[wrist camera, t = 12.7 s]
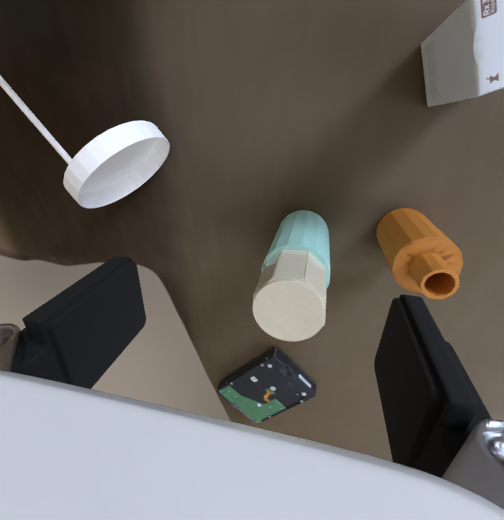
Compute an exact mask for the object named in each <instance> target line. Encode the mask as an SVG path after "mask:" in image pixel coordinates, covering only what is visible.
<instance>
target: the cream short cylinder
mask: <svg viewBox="0 0 504 520" xmlns="http://www.w3.org/2000/svg"><path fill="white" fill-rule="evenodd" d="M253 314H254V318H255V320H256V322H257V323H258V325H259V326H260V327H261V328H262V329H263V330H264V331H265V332H266V333H267V334H269V335H271V336H273V337H275V338H277V339H280V340H284V341H301V340H305V339H308V338H310V337H312V336H313V335H315V334H316V333H317V332H318V331H319V330H320V329H321V327H323V326H324V325H325V316H326V267H325V266H324V265H323V264H322V263H321V262H320V261H318V260H317V259H316V258H315V257H314V256H313V255H312V254H311V253H310V252H309V251H307V250H281V251H280V252H279V253H278V254H277V255H276V256H274V257H273V258H272V259H271V260H270V261H269V262H268V263H267V264H266V265H265V267H264V270H263V272H262V275H261V277H260V279H259V282H258V284H257V287H256V289H255V292H254V294H253Z"/></svg>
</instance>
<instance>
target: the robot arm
mask: <svg viewBox="0 0 504 520" xmlns="http://www.w3.org/2000/svg"><path fill="white" fill-rule="evenodd" d="M23 322H24V324H25V326H26V328H24V329H23V330H22V331H20V328H19V327H18V326H17V325H13V324H0V520H504V421H502V420H496V419H492V418H491V416H490V415H489V413H488V411H487V409H486V407H485V406H484V404H483V402H482V400H481V398H480V396H479V395H478V393H477V391H476V389H475V387H474V386H473V384H472V382H471V380H470V378H469V376H468V375H467V373H466V371H465V369H464V367H463V366H462V364H461V362H460V360H459V358H458V356H457V355H456V353H455V351H454V349H453V347H452V346H451V345H450V343H448V342H445V340H444V338H443V337H442V335H441V333H440V331H439V329H438V327H437V325H436V323H435V322H434V320H433V318H432V316H431V314H430V312H429V310H428V308H427V306H426V305H425V303H424V301H423V299H422V298H421V297H418V296H410V295H403V294H402V295H400V297H399V298H394V299H393V300H392V303H391V307H390V310H389V313H388V317H387V320H386V323H385V327H384V330H383V333H382V337H381V340H380V343H379V347H378V350H377V354H376V357H375V364H374V366H375V373H376V378H377V383H378V388H379V393H380V398H381V403H382V408H383V413H384V418H385V423H386V429H387V434H388V439H389V444H390V449H391V454H392V459H393V462H391V461H388V460H385V459H381V458H377V457H373V456H369V455H365V454H361V453H357V452H354V451H350V450H346V449H342V448H338V447H334V446H330V445H326V444H322V443H318V442H314V441H310V440H306V439H302V438H298V437H293V436H289V435H285V434H281V433H277V432H272V431H268V430H264V429H260V428H256V427H251V426H247V425H243V424H239V423H235V422H231V421H226V420H222V419H218V418H214V417H209V416H205V415H200V414H196V413H192V412H188V411H183V410H179V409H175V408H171V407H166V406H162V405H158V404H153V403H149V402H145V401H140V400H136V399H132V398H127V397H123V396H119V395H114V394H110V393H105V392H101V391H96V390H92V389H91V388H92V387H93V386H94V384H95V383H96V382H97V381H98V380H99V379H100V377H101V376H102V375H103V374H104V373H105V372H106V370H107V369H108V368H109V367H110V366H111V365H112V363H113V362H114V361H115V360H116V358H117V357H118V356H119V355H120V354H121V353H122V352H123V350H124V349H125V348H126V347H127V346H128V345H129V343H130V342H131V341H132V340H133V339H134V337H135V336H136V335H137V334H138V333H139V332H140V330H141V329H142V328H143V327H144V324H145V322H146V315H145V310H144V304H143V298H142V293H141V287H140V282H139V276H138V271H137V265H136V263H134V262H133V260H132V259H131V258H127V257H119V256H115V257H113V258H111V259H110V260H108V261H107V262H105V263H104V264H102V265H101V266H100V267H98V268H96V269H95V270H94V271H92V272H91V273H89V274H88V275H86V276H85V277H83V278H82V279H80V280H79V281H77V282H76V283H74V284H73V285H71V286H70V287H68V288H67V289H65V290H64V291H62V292H61V293H60V294H58V295H57V296H55V297H54V298H52V299H51V300H49V301H48V302H46V303H45V304H43V305H42V306H40V307H39V308H37V309H36V310H34V311H33V312H31V313H30V314H28V315H27V316H26V317H24V318H23Z"/></svg>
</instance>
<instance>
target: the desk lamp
mask: <svg viewBox="0 0 504 520" xmlns="http://www.w3.org/2000/svg"><path fill="white" fill-rule="evenodd" d="M0 86H1V87H2V88H3V89H4V90H5V91H6V93H7V94H8V95H9V96H10V97H11V98H12V100H13V101H14V102H15V103H16V104H17V105H18V107H19V108H20V109H21V110H22V111H23V112H24V113H25V115H26V116H27V117H28V118H29V119H30V120H31V122H32V123H33V124H34V125H35V126H36V127H37V129H38V130H39V131H40V132H41V133H42V134H43V136H44V137H45V138H46V139H47V140H48V141H49V143H50V144H51V145H52V146H53V147H54V148H55V150H56V151H57V152H58V153H59V154H60V155H61V157H62V158H63V159H64V160H65V161H66V162H67V164H68V167H67V169H66V171H65V174H64V182H63V183H64V186H65V189H66V190H67V191H68V192H69V193H70V194H71V195H72V197H73V198H74V199H75V200H76V201H77V202H78V204H80V205H81V206H82V207H85V208H97V207H101V206H105V205H108V204H110V203H113V202H115V201H117V200H119V199H121V198H123V197H125V196H126V195H128V194H130V193H131V192H133V191H134V190H136V189H137V188H139V187H140V186H141V185H142V184H144V183H145V182H146V181H147V180H148V179H149V178H150V177H152V176H153V175H154V174H155V172H156V171H157V170H158V169H159V168H160V167H161V165H162V164H163V163H164V161H165V159H166V158H167V156H168V153H169V150H170V144H169V142H168V140H167V139H166V138H165V137H164V135H163V134H162V133H161V132H160V130H159V129H158V128H157V127H156V125H154V124H153V123H151V122H147V121H141V120H140V121H131V122H127V123H124V124H120V125H118V126H116V127H113V128H111V129H109V130H107V131H105V132H104V133H102V134H100V135H99V136H97V137H96V138H94V139H93V140H92V141H90V142H89V143H88V144H86V145H85V146H84V147H83V148H82V149H81V150H80V151H79V152H78V153H77V154H76V155H75V157H74V158H73V159H72V158H71V157H70V156H69V155H68V154H67V153H66V151H65V150H64V149H63V148H62V147H61V146H60V144H59V143H58V142H57V141H56V140H55V139H54V137H53V136H52V135H51V134H50V133H49V132H48V130H47V129H46V128H45V127H44V126H43V125H42V123H41V122H40V121H39V120H38V119H37V118H36V116H35V115H34V114H33V113H32V112H31V111H30V109H29V108H28V107H27V106H26V105H25V104H24V102H23V101H22V100H21V99H20V98H19V96H18V95H17V94H16V93H15V92H14V91H13V89H12V88H11V87H10V86H9V85H8V84H7V82H6V81H5V80H4V79H3V78H2V77H1V75H0Z"/></svg>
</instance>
